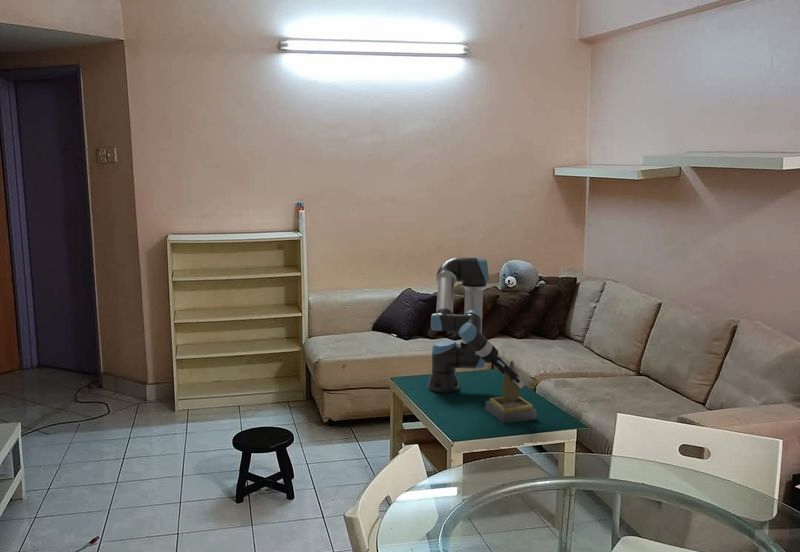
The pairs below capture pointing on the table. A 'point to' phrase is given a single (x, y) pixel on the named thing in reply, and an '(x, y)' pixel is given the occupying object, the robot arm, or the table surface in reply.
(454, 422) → the table surface
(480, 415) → the table surface
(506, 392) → the squeeze bottle
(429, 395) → the table surface
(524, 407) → the square gold-rimmed tray
